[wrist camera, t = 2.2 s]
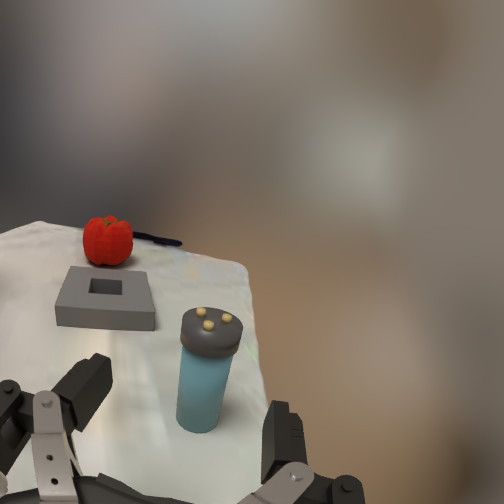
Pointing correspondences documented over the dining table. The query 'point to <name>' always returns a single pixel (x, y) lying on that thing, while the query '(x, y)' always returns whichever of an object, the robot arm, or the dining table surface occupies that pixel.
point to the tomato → (107, 241)
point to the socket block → (105, 300)
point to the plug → (205, 365)
